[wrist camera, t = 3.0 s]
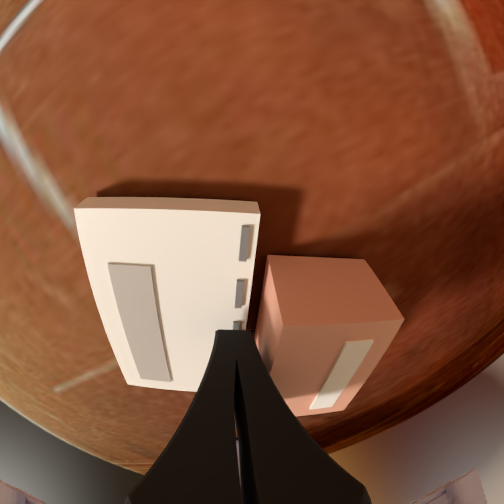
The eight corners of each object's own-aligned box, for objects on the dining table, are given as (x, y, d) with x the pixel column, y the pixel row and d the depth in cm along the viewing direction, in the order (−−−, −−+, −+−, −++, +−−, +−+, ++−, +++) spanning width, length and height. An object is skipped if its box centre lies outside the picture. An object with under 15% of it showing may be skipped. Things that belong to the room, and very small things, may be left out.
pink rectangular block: (326, 354, 14) (343, 411, 10) (250, 356, 13) (257, 420, 10) (364, 259, 10) (405, 321, 7) (267, 254, 10) (283, 328, 7)
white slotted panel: (237, 377, 14) (237, 394, 13) (131, 370, 13) (127, 386, 12) (257, 201, 9) (261, 215, 8) (86, 197, 8) (72, 210, 7)
